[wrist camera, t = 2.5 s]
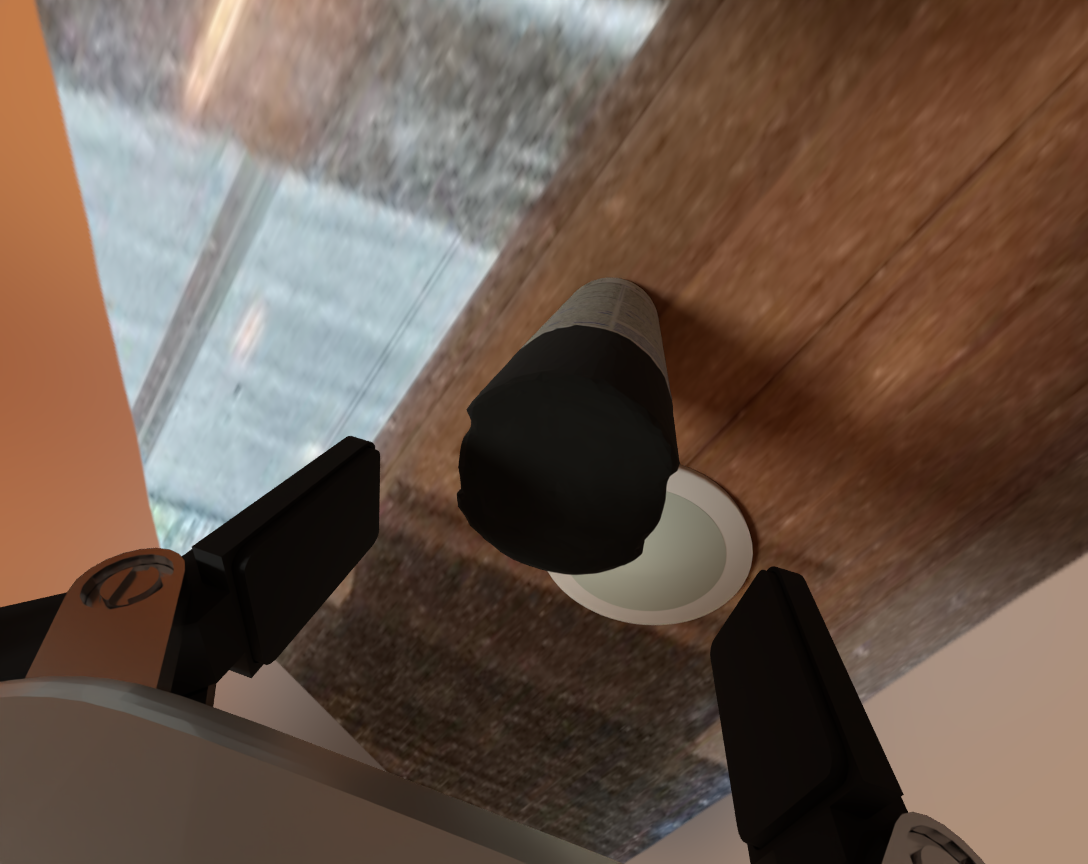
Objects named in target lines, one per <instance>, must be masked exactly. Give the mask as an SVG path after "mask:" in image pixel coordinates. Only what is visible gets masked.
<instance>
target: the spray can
mask: <svg viewBox="0 0 1088 864" xmlns="http://www.w3.org/2000/svg"><path fill="white" fill-rule="evenodd" d="M467 412H468V414H469V416H470V419H471V427H470V429H469V431H468V432H467V434H466V435H465V436H464V438H463V441H462V444H461V450H460V457H459V466H458V468H459V473H460V481H461V489H460V490H459V492H458V493H457V501H458V507H459V508H460V510H461V511H462V512H463V514H464V515H465V517H466V518H467V520H468V522H469V524H470V526H471V527H472V528H474V529H475V530H476V531H477V532H478V533H479V534H480V535H481V536H482V537H483V538H484V539H485V540H486V541H488V542H489V543H491V544H492V545H493V546H494V547H495V548H497V549H498V550H499V551H500V552H502V553H503V554H505V555H507V556H508V557H510V558H512V559H513V560H516V561H518V562H520V563H523V564H526V565H529V566H532V567H535V568H538V569H541V570H545V571H549V572H554V573H560V574H566V575H584V574H597V573H601V572H605V571H608V570H612V569H615V568H617V567H620V566H623V565H626V564H628V563H630V562H632V561H634V560H636V559H637V558H638V557H639V556H640V555H641V554H642V553H643V547H644V543H645V541H644V540H645V539H646V538H647V537H648V536H649V535H650V534H651V533H652V532H653V531H654V529H655V528H656V526H657V525H658V523H659V521H660V519H661V516H662V512H663V509H664V505H665V501H666V488H667V482H668V479H669V477H670V476H671V475H673V474H674V473H675V472H677V471H678V468H679V465H680V462H679V455H678V448H677V441H676V432H675V424H674V417H673V404H672V396H671V392H670V386H669V380H668V374H667V367H666V362H665V356H664V350H663V344H662V337H661V331H660V325H659V318H658V314H657V311H656V308H655V306H654V304H653V302H652V300H651V298H650V297H649V296H648V295H647V294H646V292H645V291H644V290H643V289H641V288H640V287H639V286H637V285H636V284H634V283H632V282H630V281H627V280H624V279H620V278H602V279H598V280H595V281H592V282H590V283H587V284H586V285H584V286H583V287H581V288H580V289H578V290H577V291H576V292H575V293H574V294H573V295H572V296H571V297H570V298H569V299H568V300H567V301H566V302H565V303H564V304H563V305H562V306H561V308H560V309H559V310H558V311H557V312H556V313H555V314H554V315H553V316H552V317H551V318H550V319H549V320H548V321H547V322H546V323H545V324H544V325H543V326H542V327H541V328H540V329H539V330H538V331H537V333H536V334H535V335H534V336H532V337H531V339H530V340H529V341H528V342H527V343H526V344H525V345H524V346H523V347H522V348H521V349H520V350H519V351H518V352H517V353H516V354H515V355H514V356H513V358H512V359H511V360H510V361H509V362H508V363H507V364H506V366H505V367H504V368H503V369H502V370H501V371H500V372H499V373H498V374H497V375H496V376H495V377H494V378H493V379H492V380H491V381H490V383H489V384H488V385H487V386H486V387H485V388H484V389H483V390H482V391H481V392H480V394H479V395H478V396H477V397H476V398H475V399H474V400H473V401H472V403H471V404H470V405H469V407H468V408H467Z"/></svg>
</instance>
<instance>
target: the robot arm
mask: <svg viewBox="0 0 1088 864" xmlns="http://www.w3.org/2000/svg"><path fill="white" fill-rule="evenodd" d="M379 498H380V453H379V451H378V450H375V445H374V444H373V443H372V442H369V441H366V440H363V439H360V438H356V437H353V436H348V437H346V438H344V439H343V440H341V441H340V442H339V443H337V444H336V445H334V446H333V447H332V448H330V449H329V450H327V451H326V452H325V453H323V454H322V455H320V456H319V457H317V458H316V459H315V460H313V461H312V462H310V463H309V464H308V465H306V466H305V467H303V468H302V469H301V470H299V471H298V472H296V473H295V474H294V475H292V476H291V477H289V478H288V479H286V480H285V481H284V482H282V483H281V484H279V485H278V486H277V487H275V488H274V489H272V490H271V491H270V492H268V493H267V494H265V495H264V496H263V497H261V498H260V499H258V500H257V501H255V502H254V503H253V504H251V505H250V506H248V507H247V508H246V509H244V510H243V511H241V512H240V513H239V514H237V515H236V516H234V517H233V518H232V519H230V520H229V521H227V522H226V523H224V524H223V525H222V526H220V527H219V528H217V529H216V530H215V531H213V532H212V533H210V534H209V535H208V536H206V537H205V538H203V539H202V540H201V541H199V542H198V543H196V544H195V545H193V546H192V549H191V550H190V551H189V552H187V553H186V554H184V555H183V556H182V557H181V555H180V554H178V553H176V552H174V551H172V550H169V549H161V548H148V549H139V550H135V551H130V552H126V553H122V554H120V555H117V556H114V557H112V558H109V559H107V560H105V561H103V562H101V563H99V564H97V565H96V566H94V567H92V568H90V569H89V570H88V571H86V572H85V573H84V574H83V575H81V576H80V577H79V578H78V579H76V581H75V582H74V583H73V585H72V586H71V587H70V589H69V590H68V592H67V593H63V594H58V595H54V596H49V597H45V598H40V599H36V600H31V601H27V602H22V603H18V604H13V605H9V606H5V607H0V864H623V863H620V862H618V861H615V860H612V859H610V858H607V857H605V856H602V855H600V854H597V853H595V852H592V851H590V850H587V849H584V848H582V847H579V846H577V845H574V844H572V843H569V842H567V841H564V840H561V839H559V838H556V837H554V836H551V835H549V834H546V833H543V832H541V831H538V830H536V829H533V828H531V827H528V826H525V825H523V824H520V823H518V822H515V821H512V820H510V819H507V818H505V817H502V816H500V815H497V814H494V813H492V812H489V811H487V810H484V809H481V808H479V807H476V806H474V805H471V804H468V803H466V802H463V801H461V800H458V799H456V798H453V797H450V796H448V795H445V794H443V793H440V792H437V791H435V790H432V789H430V788H427V787H424V786H422V785H419V784H417V783H414V782H411V781H409V780H406V779H404V778H401V777H398V776H396V775H393V774H391V773H388V772H385V771H383V770H380V769H377V768H375V767H372V766H370V765H367V764H364V763H362V762H359V761H356V760H354V759H351V758H349V757H346V756H343V755H341V754H338V753H335V752H333V751H330V750H327V749H325V748H322V747H320V746H317V745H314V744H312V743H309V742H306V741H304V740H301V739H299V738H296V737H293V736H291V735H288V734H285V733H283V732H280V731H277V730H275V729H272V728H270V727H267V726H264V725H261V724H258V723H256V722H253V721H250V720H248V719H245V718H242V717H239V716H236V715H233V714H231V713H228V712H225V711H222V710H219V709H217V708H214V707H213V704H214V697H215V689H216V683H217V682H218V681H219V680H220V679H221V678H222V677H223V676H224V675H225V674H226V673H227V671H228V670H231V671H233V672H236V673H239V674H241V675H244V676H247V677H249V678H252V677H253V676H254V675H255V673H256V672H257V671H258V670H259V669H260V668H261V667H262V665H263V664H265V665H268V664H271V663H272V662H273V661H275V660H276V659H277V657H278V656H279V655H280V654H281V653H282V652H283V650H284V649H285V648H286V647H287V646H288V645H289V643H290V642H291V641H292V640H293V639H294V638H295V636H296V635H297V634H298V633H299V632H300V630H301V629H302V628H303V627H304V626H305V625H306V623H307V622H308V621H309V620H310V619H311V617H312V616H313V615H314V614H315V613H316V612H317V610H318V609H319V608H320V607H321V606H322V604H323V603H324V602H325V601H326V600H327V599H328V597H329V596H330V595H331V594H332V593H333V591H334V590H335V589H336V588H337V587H338V586H339V584H340V583H341V582H342V581H343V580H344V579H345V577H346V576H347V575H348V574H349V573H350V571H351V570H352V569H353V568H354V567H355V566H356V564H357V563H358V562H359V561H360V560H361V558H362V557H363V556H364V555H365V554H366V553H367V551H368V550H369V549H370V548H371V547H372V545H373V544H374V543H375V541H376V539H377V537H378V533H379ZM710 656H711V664H712V670H713V676H714V683H715V689H716V695H717V702H718V708H719V714H720V721H721V727H722V733H723V740H724V746H725V753H726V759H727V765H728V772H729V778H730V784H731V791H732V797H733V803H734V809H735V816H736V822H737V827H738V832H739V835H740V837H741V839H742V841H743V842H745V843H747V845H748V851H749V857H750V863H751V864H985V863H984V862H983V861H982V859H981V858H980V857H979V856H978V855H977V854H976V853H975V852H974V851H973V850H972V849H971V848H970V847H969V846H968V845H967V844H966V843H965V842H964V841H963V840H962V839H961V838H960V837H959V836H957V835H956V834H955V833H953V832H952V831H951V830H950V829H948V828H947V827H946V826H945V825H943V824H941V823H940V822H937V821H936V820H934V819H932V818H931V817H928V816H927V815H923V814H919V813H915V812H910V813H908V811H907V809H906V807H905V804H904V802H903V800H902V798H901V796H902V795H904V794H903V792H902V790H901V788H900V786H899V783H898V781H897V779H896V777H895V775H894V773H893V770H892V768H891V766H890V764H889V762H888V760H887V757H886V755H885V753H884V751H883V749H882V746H881V744H880V742H879V740H878V738H877V736H876V733H875V731H874V729H873V727H872V725H871V723H870V720H869V718H868V716H867V714H866V712H865V709H864V707H863V705H862V703H861V701H860V699H859V696H858V694H857V692H856V690H855V688H854V686H853V683H852V681H851V679H850V677H849V675H848V672H847V670H846V668H845V666H844V664H843V662H842V659H841V657H840V655H839V653H838V651H837V649H836V646H835V644H834V642H833V640H832V638H831V635H830V633H829V631H828V629H827V627H826V625H825V622H824V620H823V618H822V616H821V614H820V612H819V609H818V607H817V605H816V603H815V601H814V598H813V596H812V594H811V592H810V590H809V588H808V585H807V583H806V581H805V579H804V578H803V576H801V575H800V574H798V573H794V572H791V571H788V570H785V569H781V568H778V567H773V566H772V567H770V568H769V569H768V570H767V571H766V570H761V571H760V572H759V573H758V574H757V575H756V577H755V578H754V580H753V581H752V583H751V585H750V586H749V588H748V589H747V591H746V592H745V594H744V595H743V597H742V598H741V600H740V601H739V603H738V604H737V606H736V607H735V609H734V610H733V612H732V613H731V615H730V616H729V618H728V619H727V621H726V622H725V624H724V625H723V627H722V628H721V630H720V631H719V633H718V634H717V636H716V637H715V639H714V640H713V642H712V645H711V651H710Z"/></svg>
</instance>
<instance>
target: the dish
mask: <svg viewBox="0 0 1088 864" xmlns="http://www.w3.org/2000/svg"><path fill="white" fill-rule="evenodd" d="M644 541H645V543H644V547H643V553H642V554H641V555H640V556H639V557H638V558H637V559H636V560H634V561H632V562H630V563H628V564H626V565H623V566H620V567H617V568H615V569H612V570H608V571H605V572H601V573H597V574H584V575H566V574H560V573H554V572H549V571H548V573H549V574H550V576H551V577H552V579H553V580H554V581H555V582H556V583H557V585H558V586H559V587H560V588H561V589H562V590H563V591H564V592H565V593H566V594H567V595H569V596H570V597H571V598H573V599H574V600H575V601H577V602H578V603H580V604H581V605H583V606H585V607H586V608H588V609H590V610H592V611H594V612H596V613H598V614H601V615H604V616H606V617H609V618H612V619H616V620H619V621H623V622H629V623H634V624H644V625H665V624H675V623H681V622H686V621H689V620H693V619H696V618H699V617H701V616H704V615H707V614H709V613H711V612H712V611H714V610H716V609H718V608H719V607H721V606H722V605H724V604H725V603H727V602H728V601H729V600H730V599H731V598H732V597H733V596H734V595H735V594H736V593H737V592H738V591H739V589H740V588H741V587H742V585H743V584H744V582H745V580H746V578H747V576H748V574H749V571H750V568H751V564H752V557H753V550H752V541H751V537H750V532H749V529H748V527H747V524H746V521H745V519H744V516H743V514H742V512H741V510H740V509H739V507H738V506H737V504H736V502H735V501H734V500H733V499H732V498H731V496H730V495H729V494H728V493H727V492H726V491H725V490H724V489H723V488H721V487H720V486H719V485H718V484H717V483H716V482H714V481H713V480H711V479H710V478H708V477H706V476H705V475H703V474H701V473H699V472H697V471H695V470H693V469H691V468H689V467H686V466H683V465H679V468H678V471H677V472H675V473H674V474H673V475H671V476H670V477H669V479H668V482H667V488H666V501H665V505H664V509H663V512H662V516H661V519H660V521H659V523H658V525H657V526H656V528H655V529H654V531H653V532H652V533H651V534H650V535H649V536H648V537H647V538H646V539H645V540H644Z"/></svg>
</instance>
